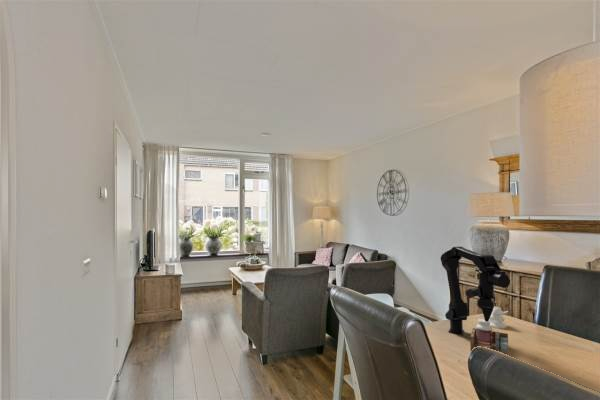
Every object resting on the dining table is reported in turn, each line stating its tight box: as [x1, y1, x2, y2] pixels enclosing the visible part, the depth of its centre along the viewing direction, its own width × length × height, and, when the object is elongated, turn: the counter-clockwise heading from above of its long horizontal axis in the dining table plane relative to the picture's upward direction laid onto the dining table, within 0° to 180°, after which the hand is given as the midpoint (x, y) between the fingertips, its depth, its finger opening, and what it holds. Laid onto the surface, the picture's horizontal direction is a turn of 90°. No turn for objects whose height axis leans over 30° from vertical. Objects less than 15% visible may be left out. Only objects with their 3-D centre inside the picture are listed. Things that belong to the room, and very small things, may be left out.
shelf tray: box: [469, 327, 509, 355], centre depth 146 cm, size 13×14×6 cm
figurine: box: [489, 305, 509, 329], centre depth 176 cm, size 12×9×10 cm
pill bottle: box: [475, 318, 493, 348], centre depth 145 cm, size 6×6×11 cm
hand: (487, 318), depth 146 cm, fingers open, 9 cm apart
